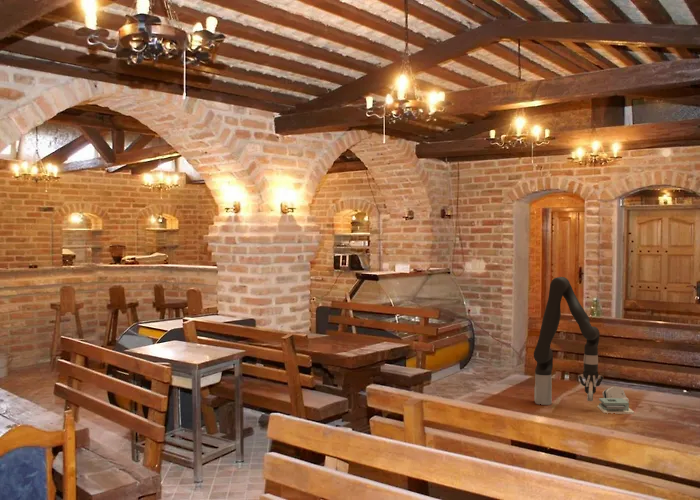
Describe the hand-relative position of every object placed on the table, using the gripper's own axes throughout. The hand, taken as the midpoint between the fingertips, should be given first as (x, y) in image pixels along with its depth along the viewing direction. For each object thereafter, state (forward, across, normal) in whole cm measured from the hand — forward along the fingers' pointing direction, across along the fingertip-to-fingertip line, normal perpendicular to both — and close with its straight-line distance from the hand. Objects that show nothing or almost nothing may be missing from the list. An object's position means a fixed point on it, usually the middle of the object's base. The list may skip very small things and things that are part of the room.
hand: (590, 393), depth 356 cm
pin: (+4, 0, 0) cm, 4 cm away
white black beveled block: (+10, +19, +18) cm, 28 cm away
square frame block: (+9, +14, 0) cm, 17 cm away
